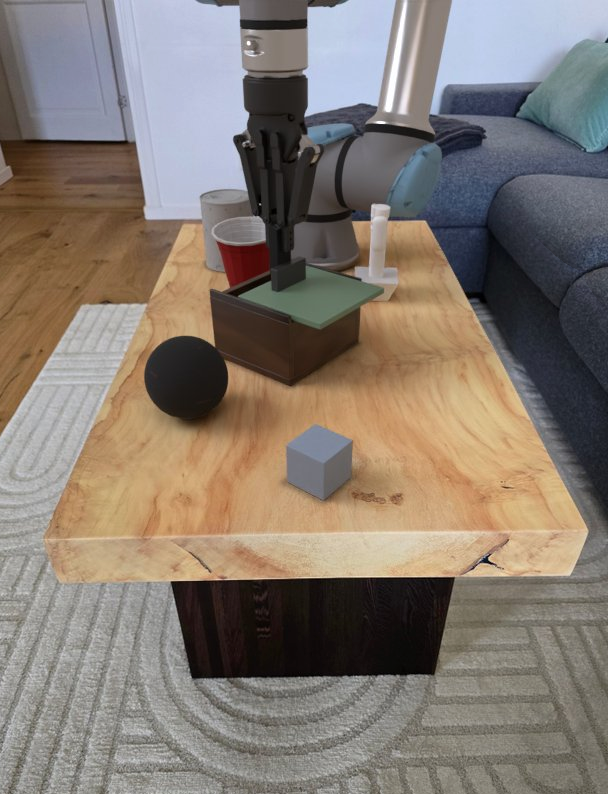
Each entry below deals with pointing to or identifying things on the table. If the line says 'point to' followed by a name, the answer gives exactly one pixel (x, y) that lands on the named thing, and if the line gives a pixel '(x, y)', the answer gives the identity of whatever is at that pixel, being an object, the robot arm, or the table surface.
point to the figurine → (379, 255)
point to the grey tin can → (221, 218)
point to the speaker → (186, 377)
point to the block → (319, 461)
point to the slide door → (311, 293)
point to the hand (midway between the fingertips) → (280, 272)
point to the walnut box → (276, 334)
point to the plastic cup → (242, 248)
